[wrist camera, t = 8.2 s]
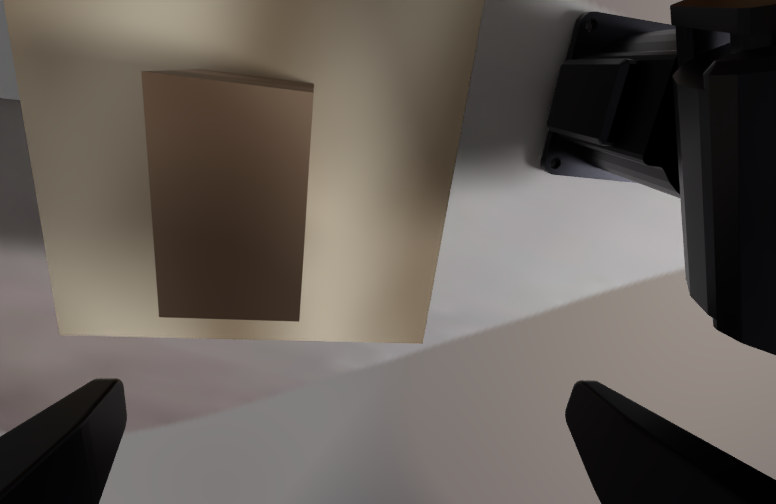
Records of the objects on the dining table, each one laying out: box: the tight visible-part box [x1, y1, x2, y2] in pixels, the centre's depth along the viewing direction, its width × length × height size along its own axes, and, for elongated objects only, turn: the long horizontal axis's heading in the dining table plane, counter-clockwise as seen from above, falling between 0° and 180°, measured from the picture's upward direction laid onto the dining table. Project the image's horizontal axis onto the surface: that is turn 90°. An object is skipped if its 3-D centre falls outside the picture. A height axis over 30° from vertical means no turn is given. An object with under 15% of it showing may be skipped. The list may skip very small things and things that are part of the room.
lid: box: [3, 0, 485, 344], centre depth 12 cm, size 12×12×6 cm
